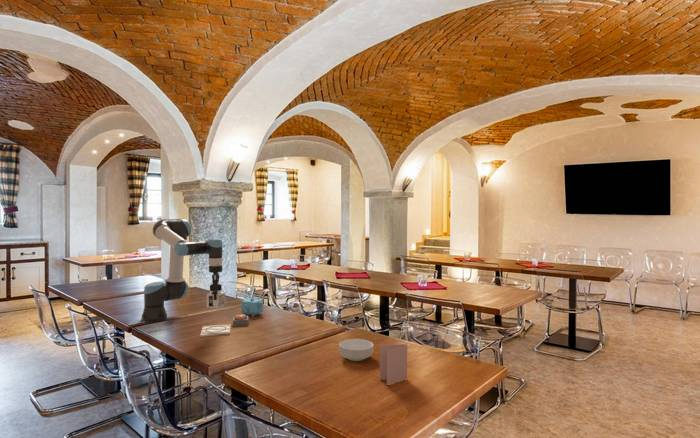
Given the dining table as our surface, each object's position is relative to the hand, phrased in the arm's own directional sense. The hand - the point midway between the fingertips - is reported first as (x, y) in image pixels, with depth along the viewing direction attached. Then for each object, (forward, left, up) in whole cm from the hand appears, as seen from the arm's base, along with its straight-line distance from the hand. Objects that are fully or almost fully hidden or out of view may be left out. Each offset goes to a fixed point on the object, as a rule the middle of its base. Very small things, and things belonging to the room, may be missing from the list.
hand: (215, 303), depth 247 cm
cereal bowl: (+62, +68, -17) cm, 94 cm away
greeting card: (+93, +76, -17) cm, 121 cm away
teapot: (-34, +22, -17) cm, 44 cm away
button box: (-13, +14, -17) cm, 25 cm away
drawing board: (0, 0, -17) cm, 17 cm away
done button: (-13, +14, -14) cm, 24 cm away
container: (0, 0, -2) cm, 2 cm away
